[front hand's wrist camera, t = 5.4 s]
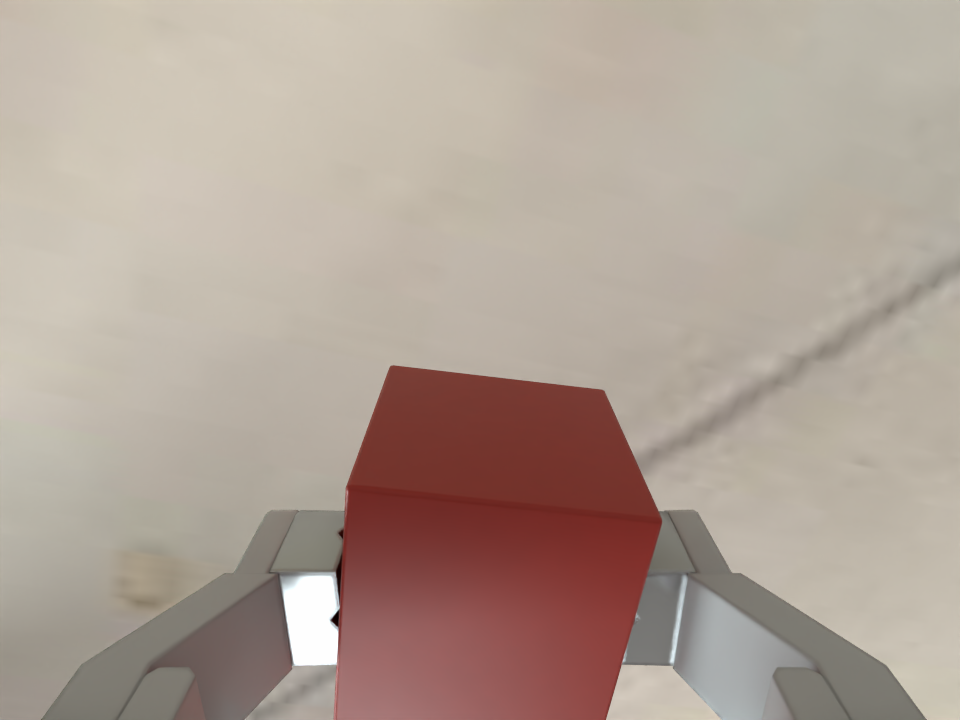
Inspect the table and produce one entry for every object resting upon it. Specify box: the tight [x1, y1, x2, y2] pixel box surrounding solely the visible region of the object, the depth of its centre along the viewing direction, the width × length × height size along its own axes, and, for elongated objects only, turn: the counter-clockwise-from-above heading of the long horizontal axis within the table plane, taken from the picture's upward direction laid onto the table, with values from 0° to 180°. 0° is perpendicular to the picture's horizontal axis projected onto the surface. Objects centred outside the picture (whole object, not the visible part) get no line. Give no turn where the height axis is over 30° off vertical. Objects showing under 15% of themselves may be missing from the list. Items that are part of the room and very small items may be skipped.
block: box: [334, 365, 662, 720], centre depth 10 cm, size 5×4×4 cm
